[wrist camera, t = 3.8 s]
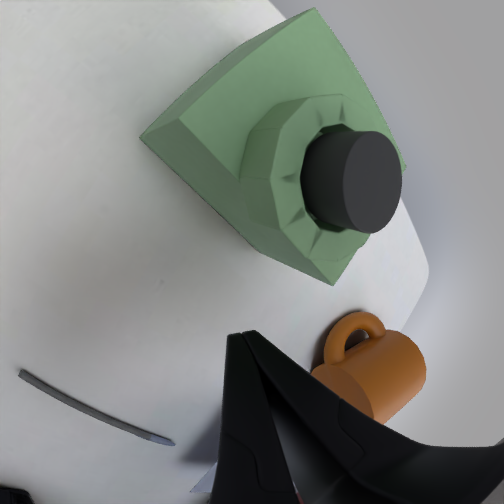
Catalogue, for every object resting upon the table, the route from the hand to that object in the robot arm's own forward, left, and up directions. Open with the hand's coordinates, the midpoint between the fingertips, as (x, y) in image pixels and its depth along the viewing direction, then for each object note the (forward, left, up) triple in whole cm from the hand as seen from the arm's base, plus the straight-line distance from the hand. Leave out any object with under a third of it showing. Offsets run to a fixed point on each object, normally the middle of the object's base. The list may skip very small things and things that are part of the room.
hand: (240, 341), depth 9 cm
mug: (-11, -16, -7) cm, 21 cm away
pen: (-12, +3, -10) cm, 16 cm away
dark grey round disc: (+6, -4, -2) cm, 7 cm away
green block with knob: (+7, -5, -10) cm, 14 cm away
